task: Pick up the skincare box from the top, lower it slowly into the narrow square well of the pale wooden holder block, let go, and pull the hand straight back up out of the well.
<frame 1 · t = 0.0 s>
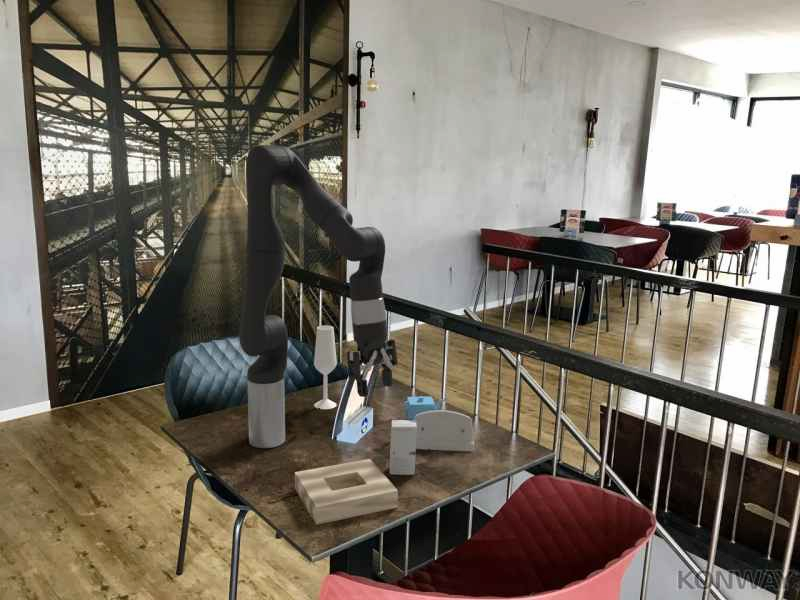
hand: (375, 391, 145), 22 cm above the table, tool pointing down, fingers open, 8 cm apart
champagne flute: (325, 405, 197), on the table
light blue box: (423, 422, 186), on the table
skincare box: (402, 471, 157), on the table
grey arched bracket: (442, 445, 172), on the table
well block: (345, 497, 144), on the table
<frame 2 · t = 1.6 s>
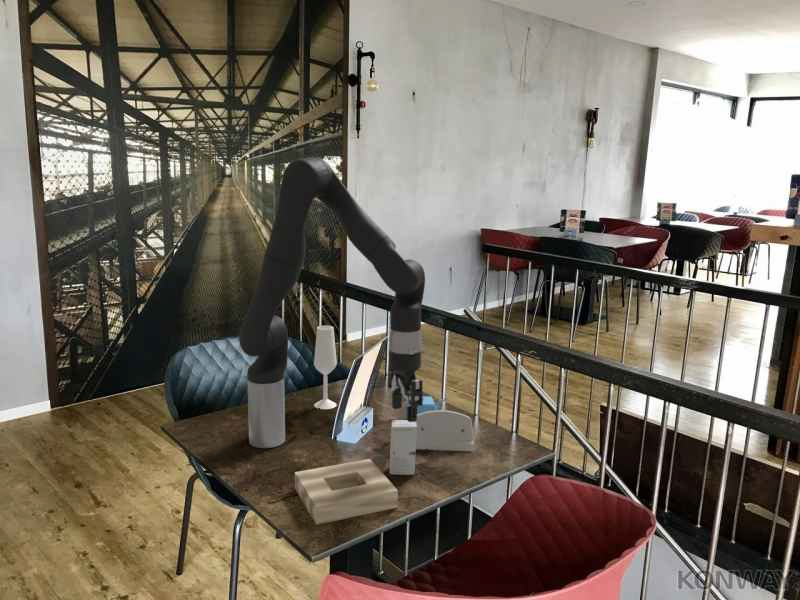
hand: (404, 414, 153), 14 cm above the table, tool pointing down, fingers open, 8 cm apart
nothing on the table moved.
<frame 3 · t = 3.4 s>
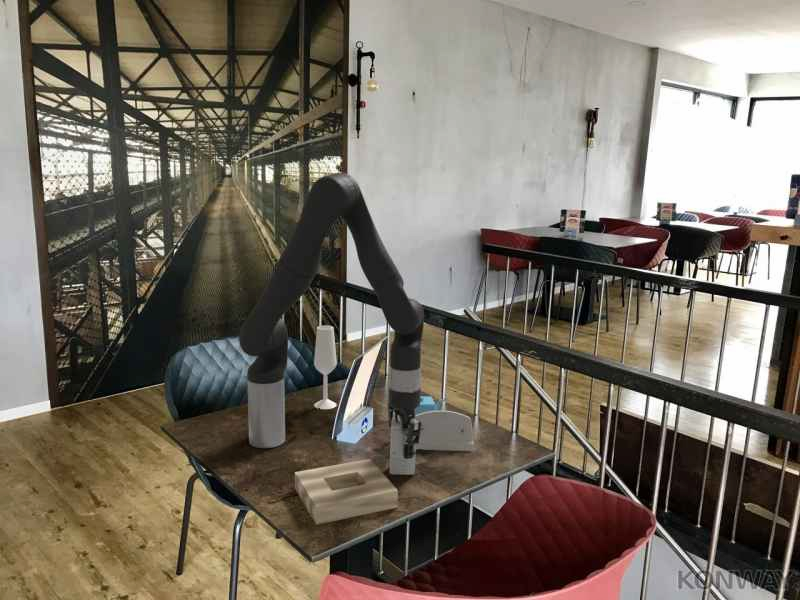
hand: (403, 452, 156), 5 cm above the table, tool pointing down, fingers closed on skincare box, 5 cm apart
skincare box: (402, 471, 157), on the table, touching gripper
everything else where it was.
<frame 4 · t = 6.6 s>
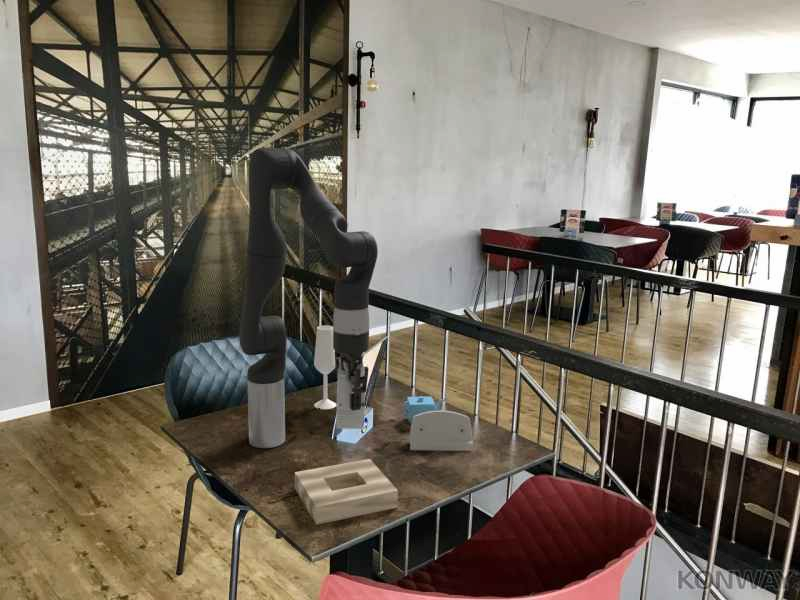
hand: (350, 404, 140), 21 cm above the table, tool pointing down, fingers closed on skincare box, 5 cm apart
skincare box: (350, 425, 141), point 16 cm above the table, touching gripper
everything else where it was.
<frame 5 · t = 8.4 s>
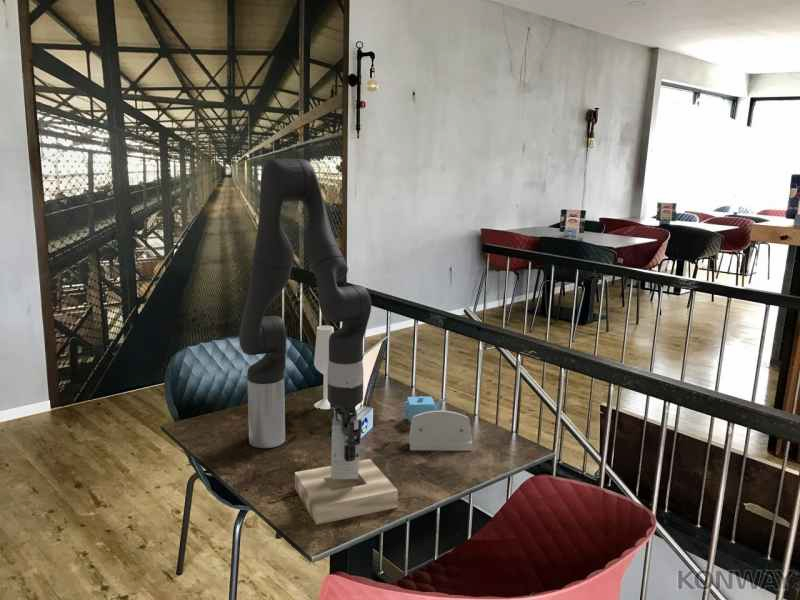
hand: (345, 454, 141), 10 cm above the table, tool pointing down, fingers closed on skincare box, 5 cm apart
skincare box: (345, 475, 143), point 5 cm above the table, touching gripper
everything else where it was.
when the fingers open (6 cm above the table, at t = 10.0 s): skincare box drops 1 cm, resting on well block.
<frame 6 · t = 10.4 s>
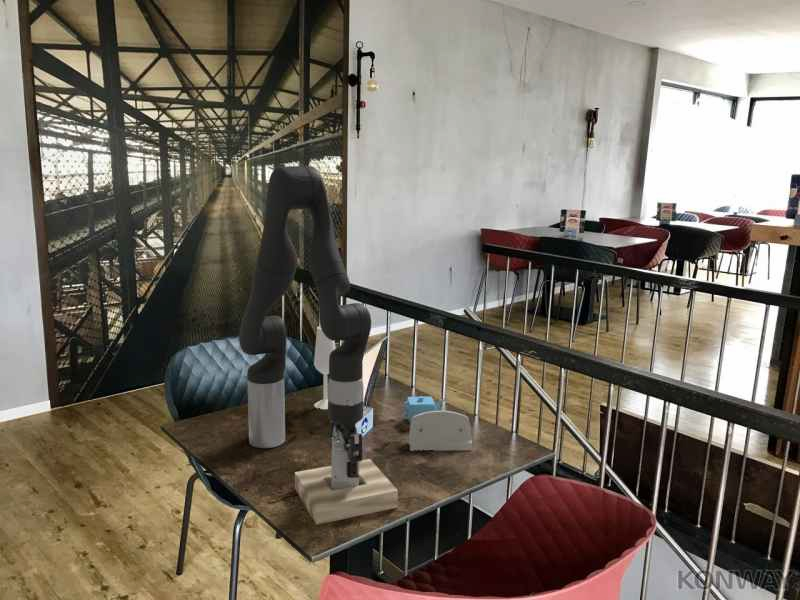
hand: (345, 468, 142), 7 cm above the table, tool pointing down, fingers open, 8 cm apart
skincare box: (345, 496, 144), resting on well block
everything else where it was.
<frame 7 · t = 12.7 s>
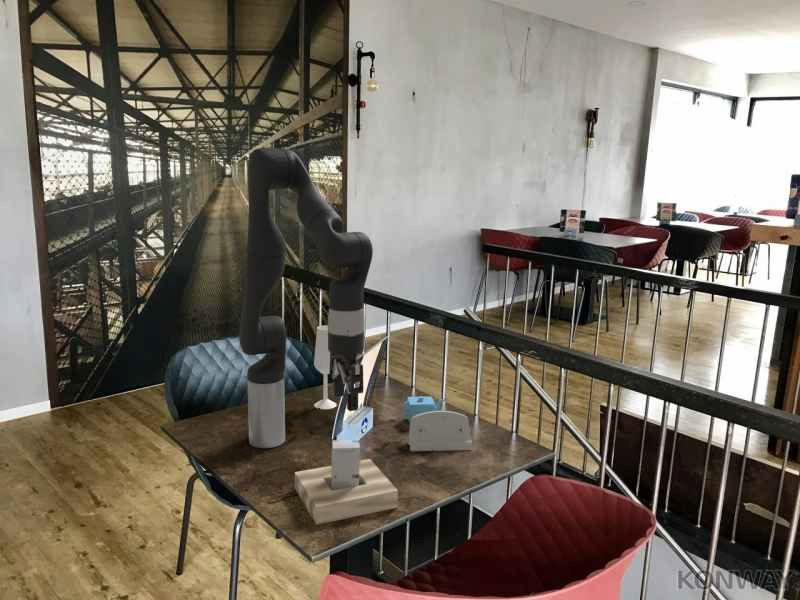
hand: (345, 403, 139), 22 cm above the table, tool pointing down, fingers open, 8 cm apart
nothing on the table moved.
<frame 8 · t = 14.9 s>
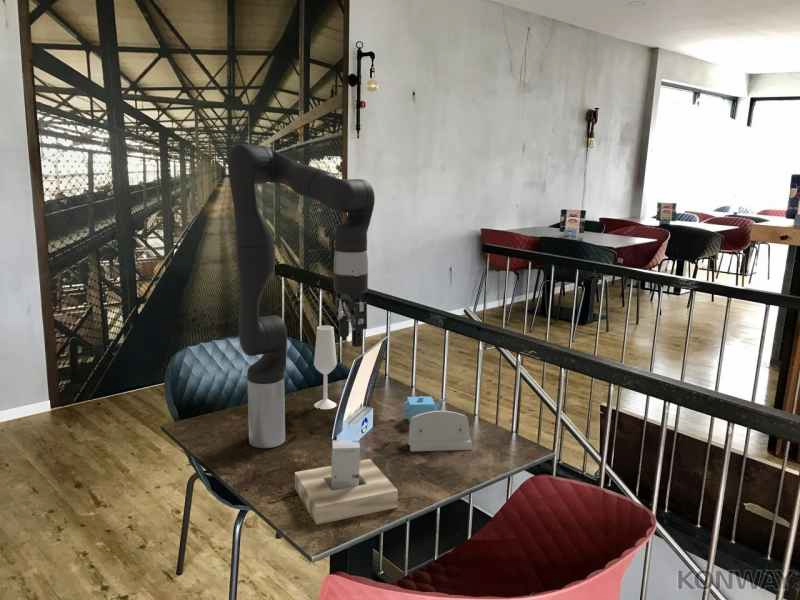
hand: (350, 341, 149), 32 cm above the table, tool pointing down, fingers open, 8 cm apart
nothing on the table moved.
at the end: skincare box 0.2 cm off-centre on the well block, point 0.3 cm above the well block's base; skincare box tilted 0°; the gripper is holding nothing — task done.
